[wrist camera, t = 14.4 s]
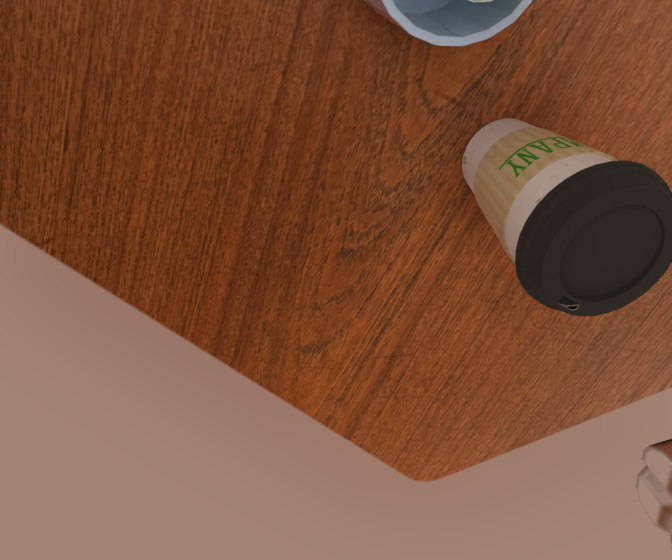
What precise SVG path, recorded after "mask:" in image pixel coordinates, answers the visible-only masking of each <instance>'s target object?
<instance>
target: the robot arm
mask: <svg viewBox="0 0 672 560" xmlns="http://www.w3.org/2000/svg"><path fill="white" fill-rule="evenodd" d="M642 460H643V461H644V462H645V464H646V465H647V466H646V467H645V468H644V469H643V470H642V471H641V472H640V473H639V474H638V477H637V483H636V489H637V493H638V497H639V501H640V503H641V505H642V507H643V509H644V511H645V513H646V514H647V515H648V517H649V518H650V520H651V521H652V522H653V524H654V525H655V526H657V527H659V528H661V529H662V530H664V531H666V532H668V533H670V534H671V548H672V439H670V440H667V441H663V442H660V443H656V444H653V445H650V446H648V447H647V448H646V449H645V450H644V452H643V456H642Z"/></svg>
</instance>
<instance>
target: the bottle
mask: <svg viewBox="0 0 672 560" xmlns="http://www.w3.org/2000/svg"><path fill="white" fill-rule="evenodd" d="M468 1H470V2H490V1H493V0H468Z"/></svg>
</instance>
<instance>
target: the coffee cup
mask: <svg viewBox="0 0 672 560" xmlns="http://www.w3.org/2000/svg"><path fill="white" fill-rule="evenodd" d="M462 171H463V175H464V178H465V180H466V182H467V183H468V185H469V187H470V188H471V190H472V192H473V193H474V195H475V199H476V201H477V203H478V205H479V207H480V209H481V211H482V212H483V214H484V216H485V217H486V219H487V221H488V223H489V224H490V226H491V228H492V229H493V231H494V233H495V234H496V236H497V238H498V239H499V241H500V243H501V245H502V246H503V248H504V250H505V251H506V253H507V255H508V256H509V258H510V259H511V260H512V261H513V263H514V264H515V267H516V273H517V277H518V279H519V281H520V283H521V285H522V287H523V288H524V289H525V291H526V292H527V293H528V294H529V295H530V296H531V297H533V298H534V299H536V300H537V301H538V302H540V303H541V304H543V305H545V306H547V307H550V308H553V309H556V310H561V311H563V312H566V313H568V314H571V315H577V316H596V315H600V314H605V313H609V312H611V311H614V310H617V309H619V308H622V307H623V306H625V305H627V304H629V303H631V302H633V301H634V300H636V299H637V298H639V297H640V296H641V295H643V294H644V293H645V292H647V291H648V290H649V289H650V288H651V287H652V286H653V285H654V284H655V283H656V282H657V281H658V280H659V279H660V278H661V276H662V275H663V274H664V273H665V272H666V270H667V269H668V267H669V265H670V264H671V262H672V192H671V190H670V189H669V187H668V185H667V183H666V182H665V181H664V180H663V179H662V178H661V177H660V176H659V175H658V174H657V173H656V172H655V171H654V170H653V169H651V168H649V167H647V166H645V165H643V164H640V163H636V162H632V161H618V160H617V159H615V158H613V157H611V156H609V155H608V154H605V153H603V152H601V151H598V150H596V149H593V148H591V147H589V146H586V145H584V144H581V143H579V142H576V141H574V140H572V139H569V138H567V137H564V136H562V135H559V134H557V133H555V132H552V131H550V130H547V129H543V128H539V127H535V126H532V125H530V124H528V123H525V122H523V121H521V120H517V119H513V118H505V119H500V120H496V121H494V122H491V123H489V124H487V125H486V126H484V127H483V128H481V129H480V130H479V131H478V132H477V133H476V134H475V135H474V136H473V137H472V139H471V140H470V142H469V143H468V145H467V147H466V149H465V152H464V155H463V160H462ZM562 304H564V305H576V304H579V305H578V306H567V307H566V306H564V305H562Z"/></svg>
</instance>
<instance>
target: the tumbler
mask: <svg viewBox="0 0 672 560" xmlns="http://www.w3.org/2000/svg"><path fill="white" fill-rule="evenodd" d="M363 1H364V2H365V3H366V4H367V5H369V6H370V7H371V8H372V9H373V10H374V11H375V12H377V13H378V14H380V15H381V16H383V17H384V18H386V19H387V20H389V21H390V22H392V23H393V24H395V25H396V26H398V27H399V28H401V29H403V30H404V31H406V32H407V33H409V34H410V35H412V36H414V37H416V38H419V39H421V40H424V41H426V42H428V43H431V44H433V45H436V46H460V47H461V46H466V45H469V44H472V43H476V42H479V41H482V40H486V39H489V38H491V37H492V36H494V35H495V34H497V33H498V32H500V31H501V30H503V29H504V28H506V27H507V26H509V25H510V24H511V23H513V22H514V21H515V20H516V19H517V18H518V17H519V16H520V15H521V14H522V12H523V11H524V10H525V9H526V8H527V7H528V6H529V4H530V3H531V2H532V1H533V0H493V1H490V2H470V1H468V0H363Z"/></svg>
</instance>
